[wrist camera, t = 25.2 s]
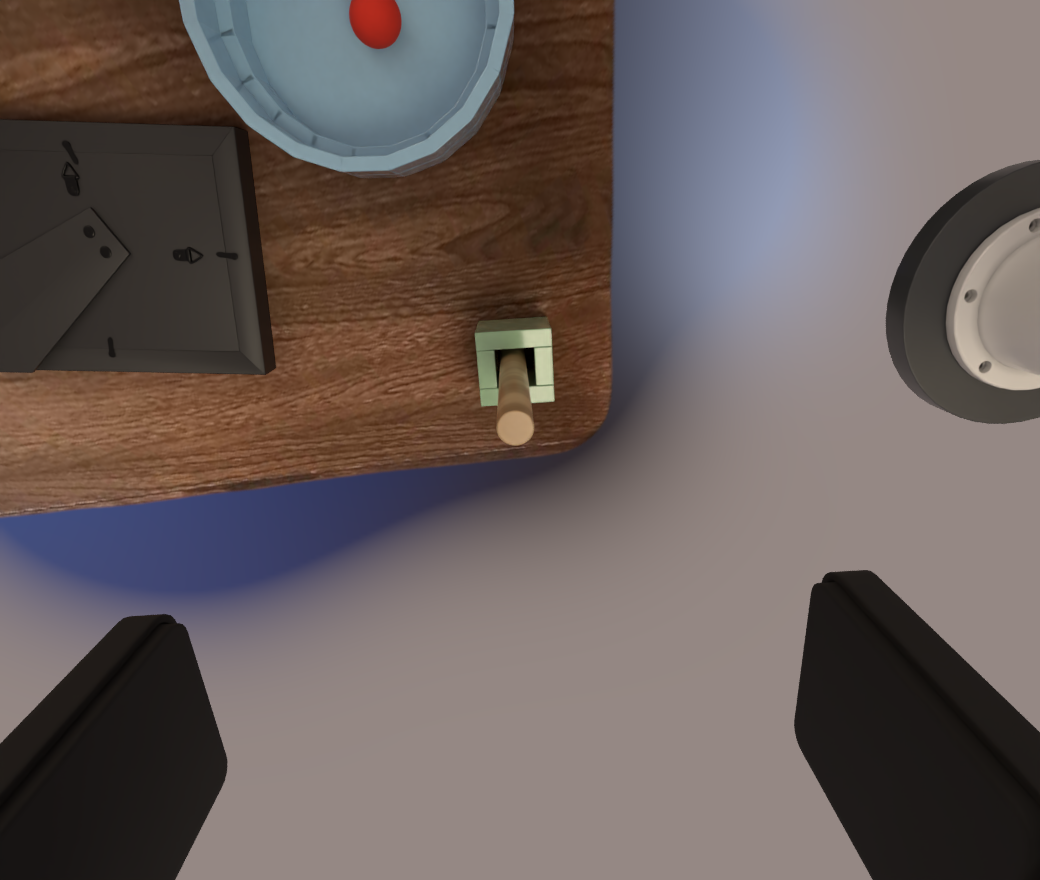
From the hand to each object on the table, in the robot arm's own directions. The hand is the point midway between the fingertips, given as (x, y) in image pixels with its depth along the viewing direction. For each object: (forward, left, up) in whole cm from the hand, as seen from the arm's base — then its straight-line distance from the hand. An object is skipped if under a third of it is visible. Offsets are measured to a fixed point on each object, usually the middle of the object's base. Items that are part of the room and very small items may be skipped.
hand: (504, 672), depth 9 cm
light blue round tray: (-10, -17, -36) cm, 41 cm away
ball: (-10, -16, -34) cm, 39 cm away
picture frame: (+12, -25, -36) cm, 46 cm away
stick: (+2, +2, -36) cm, 36 cm away
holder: (+2, +2, -36) cm, 36 cm away
